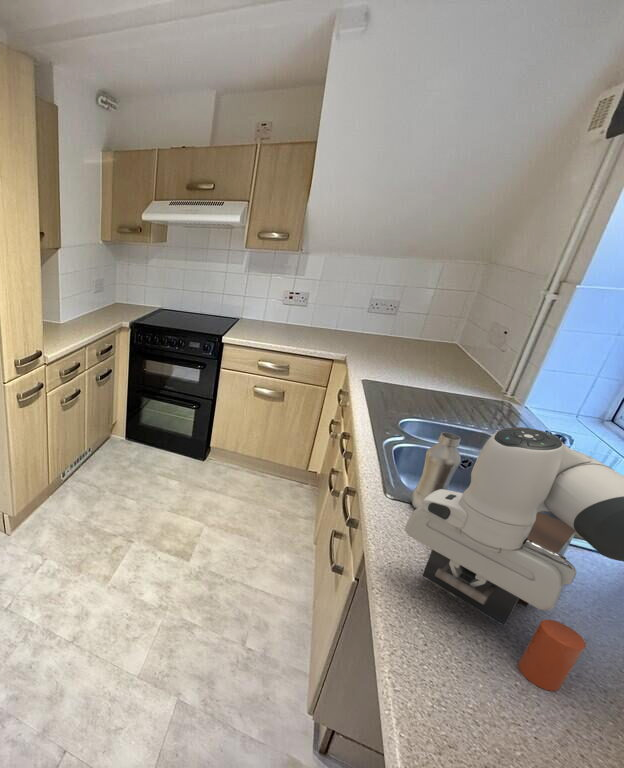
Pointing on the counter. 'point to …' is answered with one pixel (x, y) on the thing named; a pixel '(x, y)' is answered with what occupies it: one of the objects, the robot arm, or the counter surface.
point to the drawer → (471, 589)
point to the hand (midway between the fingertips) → (462, 586)
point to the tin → (551, 655)
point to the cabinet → (550, 536)
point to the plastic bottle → (438, 467)
